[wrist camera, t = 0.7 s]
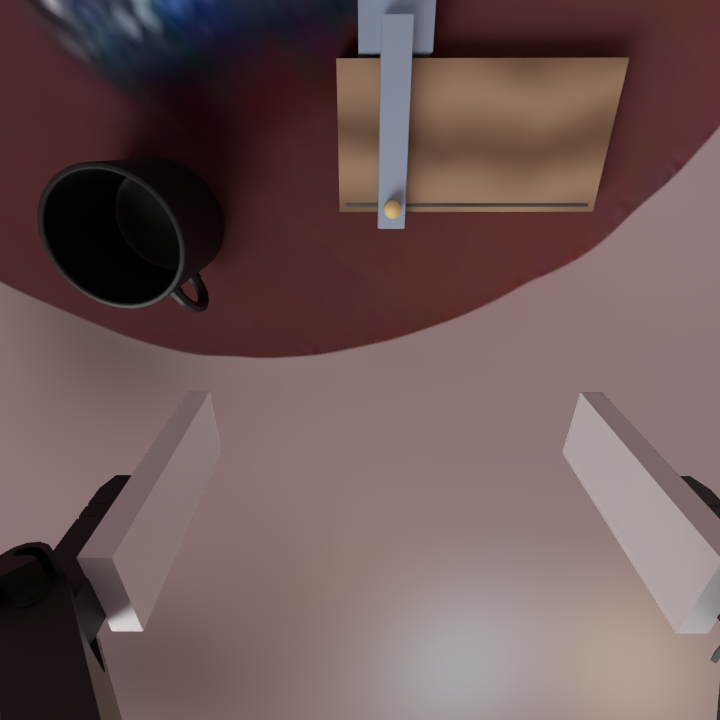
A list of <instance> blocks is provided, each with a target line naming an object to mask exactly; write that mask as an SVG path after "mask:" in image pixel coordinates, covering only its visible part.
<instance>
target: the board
mask: <svg viewBox="0 0 720 720" xmlns="http://www.w3.org/2000/svg"><path fill="white" fill-rule="evenodd" d="M336 61H337V106H338V151H339V196H340V212H378V172H379V113H380V58H336ZM628 61H629V58H412V68H411V91H410V113H409V135H408V157H407V180H406V202H405V212H593V208H594V204H595V200H596V196H597V191H598V187H599V183H600V179H601V175H602V170H603V166H604V162H605V158H606V154H607V149H608V145H609V141H610V137H611V133H612V128H613V124H614V120H615V116H616V112H617V107H618V103H619V99H620V95H621V91H622V86H623V82H624V78H625V74H626V70H627V65H628Z"/></svg>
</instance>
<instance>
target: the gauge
mask: <svg viewBox="0 0 720 720" xmlns="http://www.w3.org/2000/svg"><path fill="white" fill-rule="evenodd" d="M435 10H436V0H358V57H359V58H380V113H379V172H378V229H404V224H405V202H406V180H407V157H408V135H409V113H410V91H411V68H412V58H428V57H429V56H430V54H431V53H432V52H433V42H434V26H435Z"/></svg>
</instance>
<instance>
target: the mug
mask: <svg viewBox="0 0 720 720" xmlns="http://www.w3.org/2000/svg"><path fill="white" fill-rule="evenodd" d="M38 228H39V233H40V237H41V240H42V243H43V246H44V248H45V250H46V252H47V255H48V256H49V258H50V260H51V261H52V263H53V264H54V266H55V267H56V268H57V270H58V271H59V272H60V273H61V275H62V276H63V277H64V278H65V279H66V280H67V281H68V282H69V283H70V284H72V285H73V286H74V287H75V288H77V289H78V290H79V291H80V292H82V293H84V294H85V295H87V296H89V297H90V298H92V299H94V300H97V301H99V302H101V303H104V304H107V305H111V306H115V307H121V308H140V307H146V306H149V305H152V304H155V303H157V302H159V301H161V300H163V299H164V298H166V297H167V296H168V295H171V297H172V298H174V299H175V300H176V301H177V302H178V303H179V304H180V305H181V306H183V307H184V308H186V309H187V310H189V311H191V312H196V313H198V312H201V311H204V310H206V309H207V307H208V303H209V297H208V292H207V289H206V287H205V285H204V283H203V281H202V280H201V276H200V274H199V273H198V272H199V271H201V270H202V269H203V268H204V267H206V266H207V265H208V264H209V263H210V262H211V261H212V260H213V259H214V257H215V256H216V254H217V252H218V250H219V248H220V245H221V242H222V237H223V222H222V216H221V212H220V208H219V206H218V203H217V201H216V199H215V197H214V195H213V194H212V192H211V190H210V189H209V188H208V187H207V185H206V184H205V183H204V182H203V181H202V180H201V179H200V178H199V177H198V176H197V175H196V174H195V173H193V172H192V171H191V170H189V169H188V168H186V167H184V166H182V165H181V164H178V163H176V162H173V161H170V160H166V159H161V158H146V159H129V160H112V161H95V162H84V163H78V164H75V165H72V166H69V167H67V168H65V169H63V170H62V171H60V172H58V173H57V174H56V175H55V176H54V177H53V178H52V179H51V180H50V181H49V183H48V184H47V185H46V187H45V188H44V190H43V193H42V195H41V198H40V201H39V206H38ZM188 280H189V282H190V283H192V284H193V286H194V287H195V289H196V291H197V295H198V301H197V302H195V301H193V300H191V299H190V298H189V297H187V296H186V295H185V293H184V292H183V290H182V288H181V287H180V286H181V285H182V284H184V283H185V282H186V281H188Z"/></svg>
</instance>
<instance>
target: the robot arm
mask: <svg viewBox="0 0 720 720" xmlns="http://www.w3.org/2000/svg"><path fill="white" fill-rule="evenodd" d="M221 453H222V449H221V444H220V439H219V434H218V429H217V425H216V419H215V414H214V409H213V404H212V400H211V395H210V391H188V393H187V394H186V396H185V397H184V398H183V400H182V402H181V403H180V404H179V406H178V407H177V409H176V410H175V412H174V413H173V415H172V416H171V418H170V420H169V421H168V422H167V424H166V425H165V427H164V428H163V430H162V431H161V433H160V434H159V436H158V437H157V439H156V440H155V442H154V443H153V445H152V446H151V448H150V449H149V451H148V452H147V453H146V455H145V457H144V458H143V460H142V461H141V462H140V464H139V465H138V467H137V469H136V470H135V471H134V473H133V474H132V475H116V476H115V477H114V478H112V479H111V480H109V481H108V482H107V483H106V484H104V485H103V486H102V487H100V488H99V490H98V491H97V492H96V494H95V495H94V497H93V498H92V499H91V500H90V502H89V503H88V506H86V507H85V509H84V510H83V511H82V513H81V514H80V515H79V519H77V520H76V521H75V522H74V523H73V525H72V526H71V527H70V529H69V530H68V531H67V533H66V534H65V536H64V537H63V538H62V540H61V541H60V542H59V544H58V545H57V546H56V548H55V549H54V550H52V548H51V547H50V546H49V545H48V544H45V543H42V542H33V543H26V544H23V545H20V546H17V547H14V548H12V549H10V550H8V551H7V552H5V553H3V554H1V555H0V720H122V718H121V715H120V711H119V708H118V704H117V700H116V697H115V694H114V689H113V686H112V682H111V679H110V675H109V672H108V668H107V664H106V661H105V657H104V654H103V650H102V646H101V643H100V640H99V638H98V636H97V633H98V631H99V629H100V627H101V625H102V623H103V621H104V620H105V618H106V619H107V622H108V624H109V625H110V628H111V629H112V631H143V630H144V628H145V626H146V624H147V621H148V619H149V617H150V614H151V612H152V610H153V608H154V605H155V603H156V601H157V599H158V596H159V594H160V592H161V589H162V587H163V585H164V583H165V580H166V578H167V576H168V573H169V571H170V569H171V567H172V564H173V562H174V560H175V557H176V555H177V553H178V551H179V548H180V546H181V544H182V541H183V539H184V537H185V535H186V532H187V530H188V528H189V525H190V523H191V521H192V519H193V516H194V514H195V512H196V510H197V507H198V505H199V503H200V501H201V498H202V496H203V494H204V491H205V489H206V487H207V485H208V482H209V480H210V478H211V475H212V473H213V471H214V469H215V466H216V464H217V462H218V459H219V457H220V455H221ZM563 454H564V456H565V457H566V459H567V461H568V462H569V464H570V465H571V467H572V469H573V470H574V472H575V473H576V475H577V477H578V478H579V480H580V481H581V483H582V484H583V486H584V488H585V489H586V491H587V492H588V494H589V496H590V497H591V499H592V500H593V502H594V503H595V505H596V507H597V508H598V510H599V511H600V513H601V515H602V516H603V518H604V519H605V521H606V523H607V524H608V526H609V527H610V529H611V531H612V532H613V534H614V535H615V537H616V539H617V540H618V542H619V543H620V545H621V546H622V548H623V550H624V551H625V553H626V554H627V556H628V558H629V559H630V561H631V562H632V564H633V565H634V567H635V569H636V570H637V572H638V574H639V575H640V577H641V578H642V580H643V581H644V583H645V585H646V586H647V588H648V589H649V591H650V592H651V594H652V595H653V597H654V599H655V601H656V602H657V604H658V605H659V607H660V608H661V610H662V612H663V613H664V615H665V616H666V618H667V620H668V621H669V623H670V624H671V626H672V627H673V629H674V631H675V632H676V634H708V632H709V631H710V629H711V628H712V626H713V625H714V624H715V622H716V621H717V619H719V621H720V499H719V498H718V497H717V496H716V495H715V494H714V493H713V492H712V491H711V490H710V489H709V488H707V487H706V486H704V485H703V484H701V483H700V482H698V481H697V480H695V479H694V478H692V477H690V476H679V475H678V474H677V473H676V471H674V469H673V468H672V467H671V466H670V465H669V464H668V463H667V462H666V461H665V460H664V459H663V457H662V456H661V455H660V454H659V453H658V452H657V451H656V450H655V449H654V448H653V447H652V446H651V445H650V443H649V442H648V441H647V440H646V439H645V438H644V437H643V436H642V435H641V434H640V433H639V432H638V430H637V429H636V428H635V427H634V426H633V425H632V424H631V423H630V422H629V421H628V420H627V419H626V418H625V417H624V415H623V414H622V413H621V412H620V411H619V410H618V409H617V408H616V407H615V406H614V405H613V404H612V403H611V401H610V400H609V399H608V398H607V397H606V396H605V395H604V394H603V393H602V392H601V393H598V392H597V393H595V392H583V393H582V392H581V393H580V396H579V399H578V403H577V406H576V410H575V413H574V416H573V420H572V423H571V426H570V430H569V433H568V436H567V440H566V443H565V446H564V450H563ZM719 659H720V646H719V647H718V648H717V650H716V651H715V653H714V654H713V656H712V658H711V661H713V662H714V663H717V661H718V660H719ZM717 720H720V688H719V699H718V711H717Z"/></svg>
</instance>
